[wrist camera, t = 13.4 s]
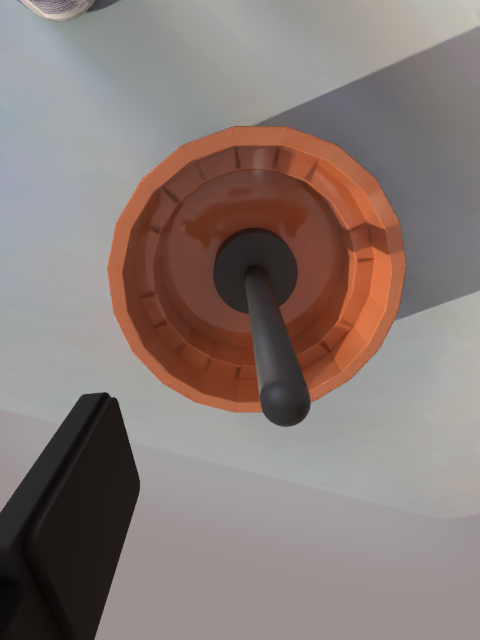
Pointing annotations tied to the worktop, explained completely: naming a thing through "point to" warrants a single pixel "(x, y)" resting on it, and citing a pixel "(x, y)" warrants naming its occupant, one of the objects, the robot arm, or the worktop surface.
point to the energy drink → (58, 8)
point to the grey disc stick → (265, 316)
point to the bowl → (268, 213)
